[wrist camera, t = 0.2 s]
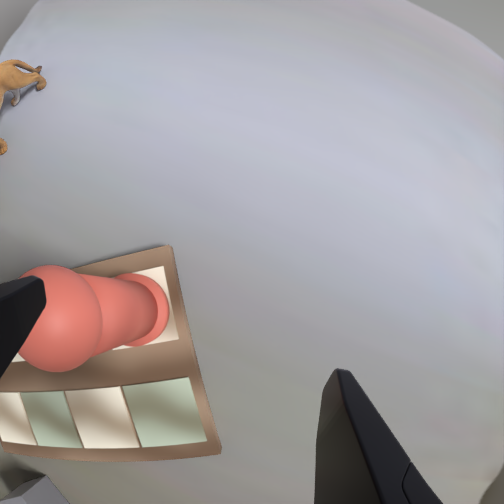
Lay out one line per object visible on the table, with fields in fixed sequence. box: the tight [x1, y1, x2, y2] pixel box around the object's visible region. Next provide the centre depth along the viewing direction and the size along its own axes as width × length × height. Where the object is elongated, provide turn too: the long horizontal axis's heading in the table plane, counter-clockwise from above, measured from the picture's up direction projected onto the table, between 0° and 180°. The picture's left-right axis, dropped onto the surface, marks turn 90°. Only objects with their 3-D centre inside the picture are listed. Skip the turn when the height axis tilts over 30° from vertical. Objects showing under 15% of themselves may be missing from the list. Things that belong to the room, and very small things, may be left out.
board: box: [0, 245, 222, 462], centre depth 22 cm, size 16×23×1 cm
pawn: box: [18, 265, 170, 372], centre depth 15 cm, size 5×5×13 cm
